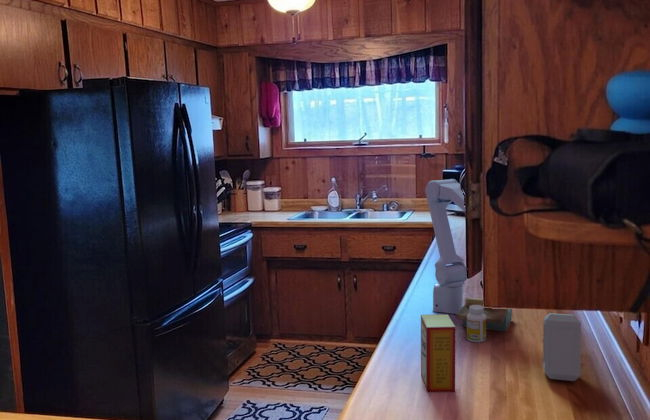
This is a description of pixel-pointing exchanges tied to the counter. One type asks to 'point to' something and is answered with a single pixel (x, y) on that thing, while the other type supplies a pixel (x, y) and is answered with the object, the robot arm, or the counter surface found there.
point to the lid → (490, 313)
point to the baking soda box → (438, 353)
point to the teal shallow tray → (496, 325)
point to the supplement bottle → (476, 324)
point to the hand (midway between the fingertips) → (490, 303)
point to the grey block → (562, 347)
